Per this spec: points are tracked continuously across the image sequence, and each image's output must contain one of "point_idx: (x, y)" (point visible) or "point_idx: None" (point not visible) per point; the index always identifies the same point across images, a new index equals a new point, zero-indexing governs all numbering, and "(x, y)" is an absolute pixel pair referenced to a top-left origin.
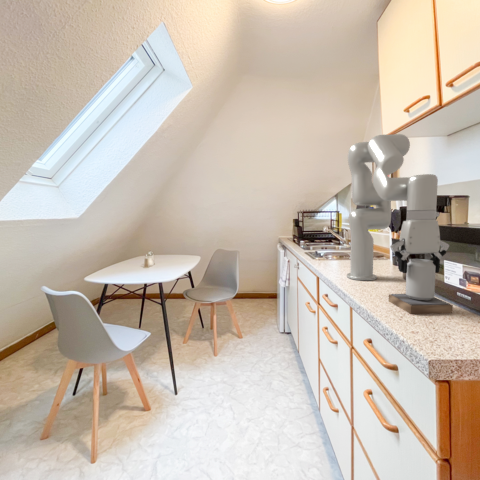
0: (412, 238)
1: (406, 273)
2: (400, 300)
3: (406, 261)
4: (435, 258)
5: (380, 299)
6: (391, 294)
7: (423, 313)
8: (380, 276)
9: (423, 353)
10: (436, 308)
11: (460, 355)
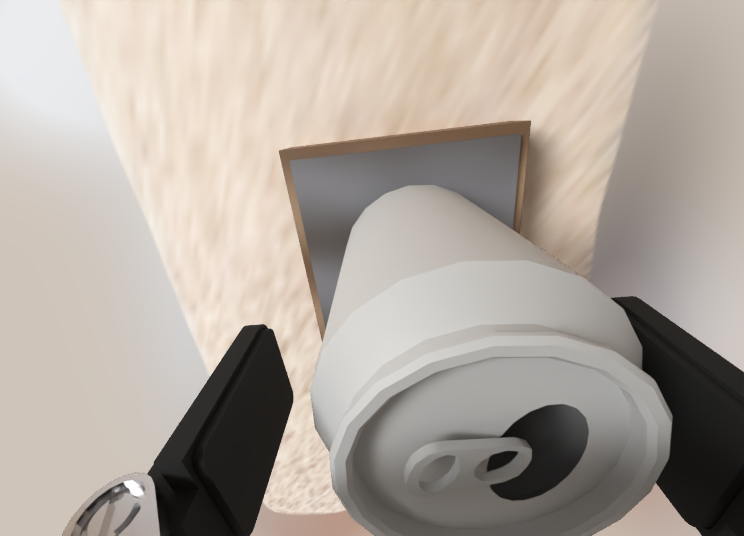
0: None
1: (334, 298)
2: (307, 270)
3: (240, 532)
4: (741, 527)
5: (253, 103)
6: (290, 164)
7: None
8: None
9: (264, 502)
10: None
11: (328, 506)
